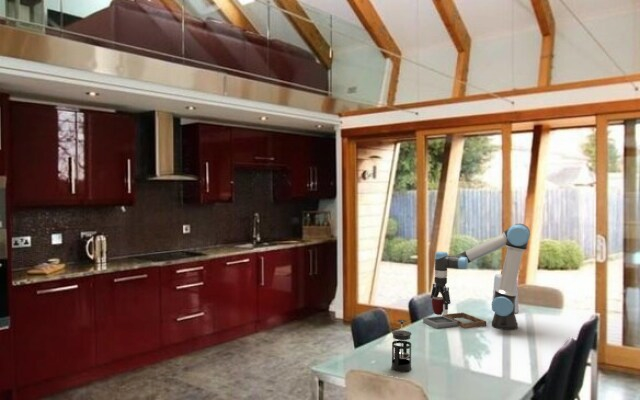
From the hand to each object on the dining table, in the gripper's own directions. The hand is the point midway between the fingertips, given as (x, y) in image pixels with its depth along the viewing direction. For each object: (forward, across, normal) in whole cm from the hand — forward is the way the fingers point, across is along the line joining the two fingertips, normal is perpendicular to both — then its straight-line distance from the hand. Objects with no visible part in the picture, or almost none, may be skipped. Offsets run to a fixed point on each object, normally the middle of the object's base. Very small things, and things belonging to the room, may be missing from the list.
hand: (440, 312), depth 311 cm
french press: (+8, +58, -62) cm, 85 cm away
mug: (+1, 0, 0) cm, 1 cm away
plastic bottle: (+8, -13, +62) cm, 64 cm away
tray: (+8, 0, 0) cm, 8 cm away
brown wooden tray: (+7, +1, +17) cm, 19 cm away
